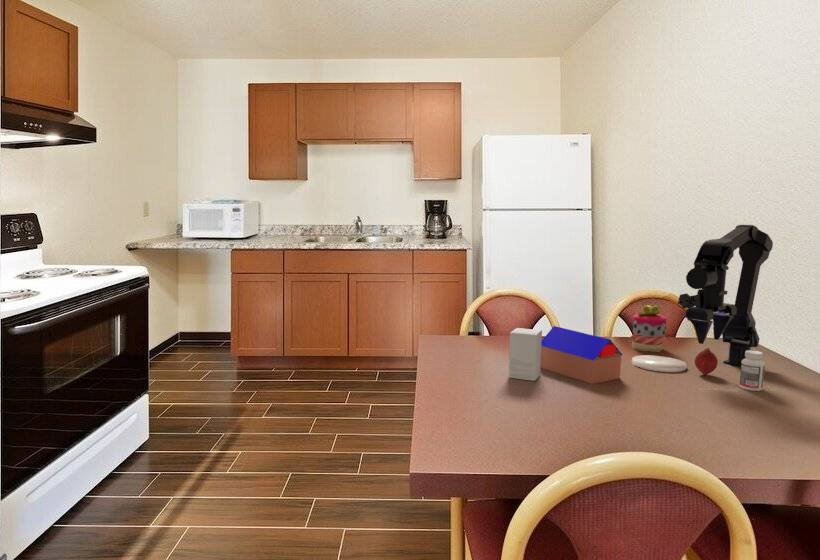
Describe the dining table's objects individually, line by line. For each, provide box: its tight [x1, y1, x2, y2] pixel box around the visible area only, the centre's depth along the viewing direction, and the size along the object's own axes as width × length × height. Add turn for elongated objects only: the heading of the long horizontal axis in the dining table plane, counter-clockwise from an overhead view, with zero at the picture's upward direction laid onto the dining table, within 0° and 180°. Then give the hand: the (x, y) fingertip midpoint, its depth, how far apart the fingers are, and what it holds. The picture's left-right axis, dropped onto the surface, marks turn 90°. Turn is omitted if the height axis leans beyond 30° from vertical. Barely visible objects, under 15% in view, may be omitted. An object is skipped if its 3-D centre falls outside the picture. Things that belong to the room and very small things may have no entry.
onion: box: [694, 346, 719, 376], centre depth 171 cm, size 6×6×8 cm
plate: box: [631, 354, 688, 373], centre depth 181 cm, size 15×15×1 cm
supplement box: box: [508, 327, 543, 382], centre depth 165 cm, size 7×7×13 cm
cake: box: [630, 305, 667, 353], centre depth 202 cm, size 10×10×15 cm
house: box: [540, 325, 623, 385], centre depth 171 cm, size 12×20×12 cm, turn 33°
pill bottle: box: [739, 350, 766, 392], centre depth 159 cm, size 5×5×10 cm
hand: (708, 341), depth 171 cm, fingers open, 9 cm apart
